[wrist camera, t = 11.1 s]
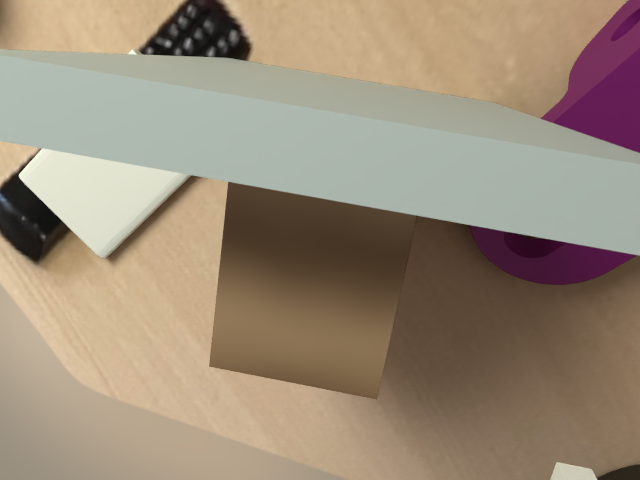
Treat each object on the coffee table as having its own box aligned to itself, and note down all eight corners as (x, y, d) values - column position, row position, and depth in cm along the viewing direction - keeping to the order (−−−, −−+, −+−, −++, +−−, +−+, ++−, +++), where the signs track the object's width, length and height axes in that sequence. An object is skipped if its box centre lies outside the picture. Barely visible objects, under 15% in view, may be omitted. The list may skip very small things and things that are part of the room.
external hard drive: (29, 171, 40) (141, 48, 37) (112, 253, 41) (227, 142, 38) (15, 175, 39) (130, 48, 35) (101, 260, 40) (220, 145, 36)
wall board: (444, 297, 39) (531, 625, 16) (209, 253, 40) (-21, 505, 17) (492, 102, 35) (703, 175, 12) (228, 57, 36) (-44, 47, 13)
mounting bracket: (553, 232, 43) (813, 56, 30) (546, 306, 37) (867, 124, 24) (461, 155, 42) (691, -59, 29) (438, 219, 36) (715, -18, 23)
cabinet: (375, 315, 32) (372, 419, 23) (258, 293, 33) (207, 387, 23) (406, 163, 29) (418, 211, 20) (277, 141, 30) (228, 177, 20)
